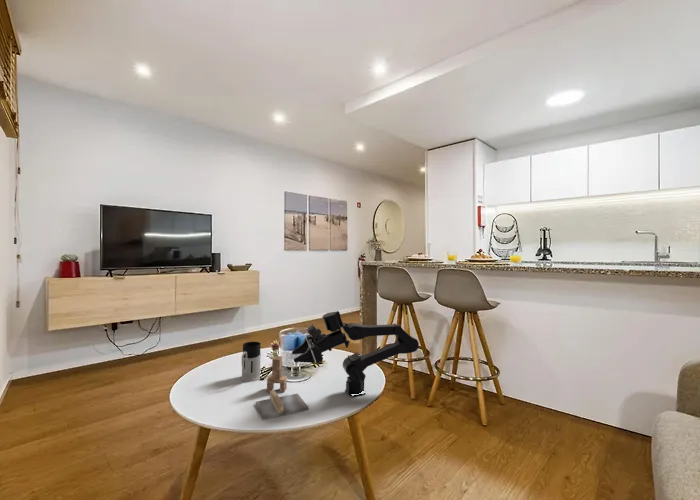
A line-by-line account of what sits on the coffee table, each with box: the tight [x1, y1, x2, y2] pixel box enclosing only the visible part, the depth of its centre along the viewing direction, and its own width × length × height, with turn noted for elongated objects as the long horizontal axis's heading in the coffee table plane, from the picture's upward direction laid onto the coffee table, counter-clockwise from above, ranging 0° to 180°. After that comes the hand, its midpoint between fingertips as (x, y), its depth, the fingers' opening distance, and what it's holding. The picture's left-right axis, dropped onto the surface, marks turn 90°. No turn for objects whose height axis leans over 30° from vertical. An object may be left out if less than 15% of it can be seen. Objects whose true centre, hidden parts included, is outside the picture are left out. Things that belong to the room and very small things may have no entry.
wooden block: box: [266, 355, 288, 393], centre depth 133 cm, size 7×4×13 cm, turn 88°
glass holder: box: [240, 341, 262, 383], centre depth 143 cm, size 9×14×15 cm, turn 174°
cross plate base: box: [255, 389, 309, 420], centre depth 119 cm, size 16×12×4 cm
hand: (293, 356), depth 126 cm, fingers open, 9 cm apart
